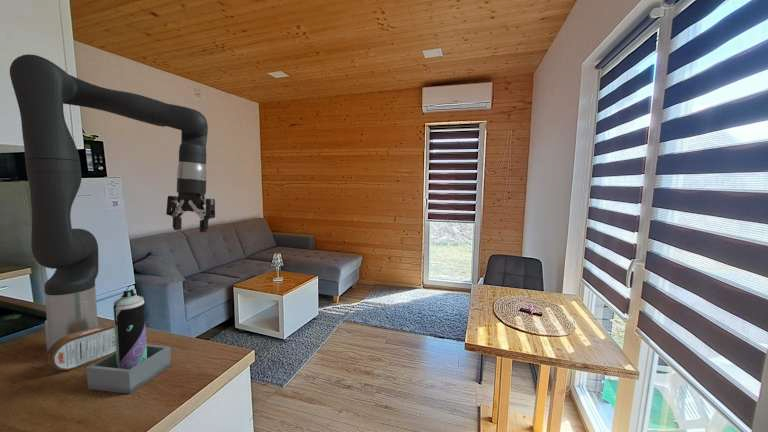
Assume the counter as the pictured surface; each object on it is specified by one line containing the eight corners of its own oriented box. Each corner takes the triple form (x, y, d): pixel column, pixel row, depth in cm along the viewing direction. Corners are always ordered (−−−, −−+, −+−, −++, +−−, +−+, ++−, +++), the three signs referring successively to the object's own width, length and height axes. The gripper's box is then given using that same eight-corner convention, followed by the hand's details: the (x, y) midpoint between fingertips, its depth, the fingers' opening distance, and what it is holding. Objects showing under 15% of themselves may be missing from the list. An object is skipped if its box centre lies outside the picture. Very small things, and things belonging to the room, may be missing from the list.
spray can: (130, 380, 67) (125, 295, 65) (111, 376, 68) (106, 293, 66) (153, 366, 72) (149, 287, 70) (135, 363, 73) (131, 285, 71)
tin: (125, 345, 83) (124, 317, 82) (130, 348, 82) (129, 319, 81) (46, 374, 70) (44, 340, 69) (51, 378, 68) (48, 344, 68)
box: (87, 388, 65) (86, 367, 65) (133, 361, 76) (132, 342, 75) (130, 393, 64) (129, 372, 64) (171, 365, 74) (170, 346, 74)
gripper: (160, 175, 86) (158, 230, 87) (205, 178, 85) (203, 234, 86) (180, 177, 94) (178, 228, 95) (222, 180, 92) (219, 231, 93)
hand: (190, 231), depth 90 cm, fingers open, 8 cm apart
